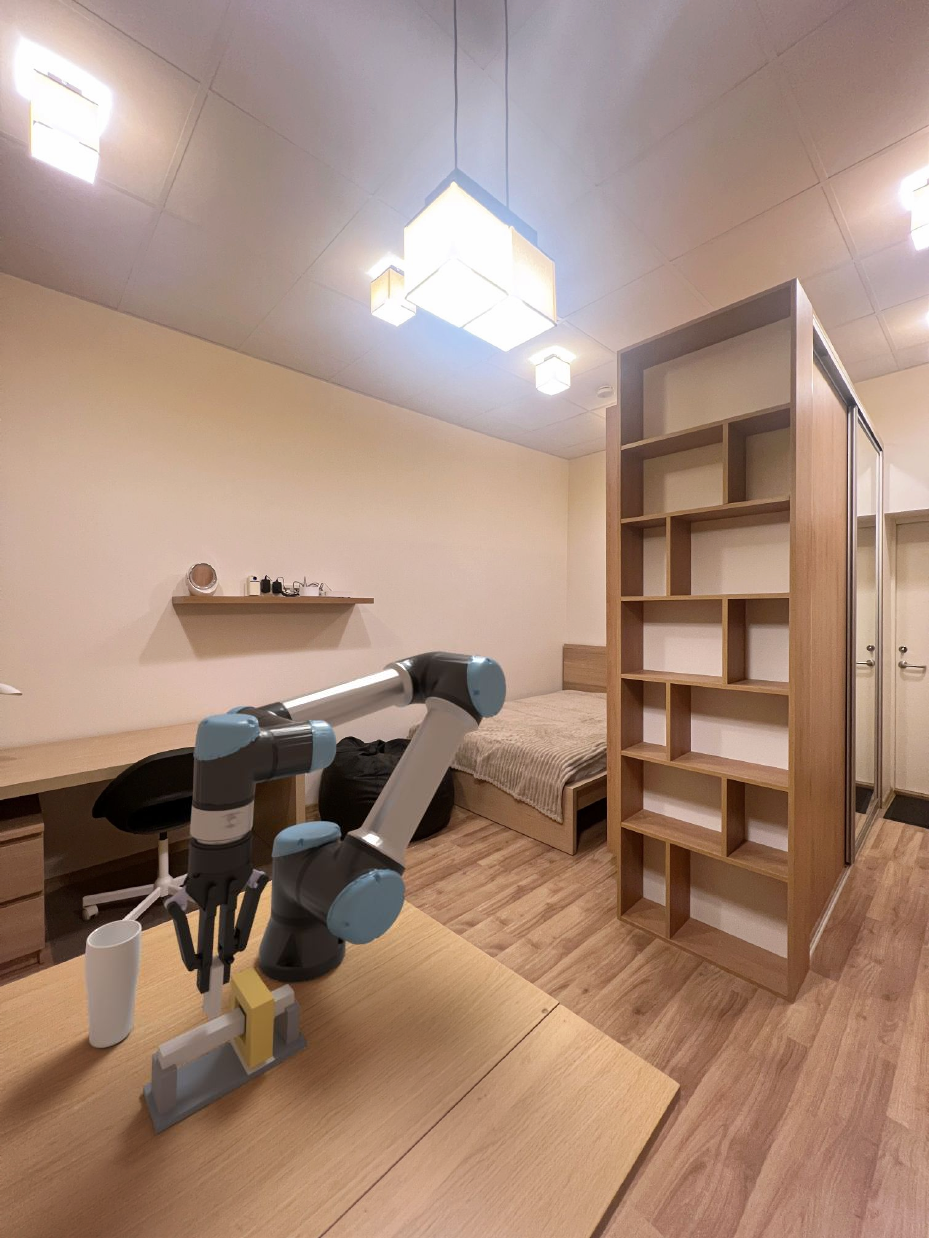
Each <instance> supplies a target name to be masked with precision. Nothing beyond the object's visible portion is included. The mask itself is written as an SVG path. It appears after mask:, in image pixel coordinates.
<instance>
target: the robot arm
mask: <svg viewBox="0 0 929 1238" xmlns="http://www.w3.org/2000/svg"><path fill="white" fill-rule="evenodd" d="M506 682H507V681H506V677H505V673H504V670H503V669H502V666H501V665H500V664H499V663H498V662H497V660H495V659H494V658H492V657H487V656H486V657H485V656H481V655H480V654H473V655H471V654H462V653H454V652H446V651H440V650H439V651H430V652H424V653H420V654H416V655H412V656H410V657H406V658H403V659H402V658H401V659H399V660H395V661H392V662H389V663H387V664H385V666H383V669H382V670H379V671H376V672H373V673H370V674H366V675H363V676H359V677H356V678H353V679H349V680H346V681H342V682H339V683H336V684H334V685H329V686H326V687H323V688H319V689H316V690H313V691H309V692H306V693H303V694H300V695H296V696H294V697H293V696H292V697H290V698H289V697H288V698H286V699H283V700H280V701H276V702H273V703H268V704H266V705H262V706H258V707H254V706H250V705H249V706H248V705H239V706H236V707H232V708H231V709H230V710H228V711H227V712H226V713H220V714H213V715H210V716H207V717H205V718H204V719H202V720H201V721H200V722H199V724H198V725H197V729H196V734H195V743H194V751H193V759H194V760H193V781H192V782H193V783H192V784H193V785H192V786H193V787H192V788H193V790H192V801H191V802H192V803H191V814H190V826H189V828H190V831H189V834H190V835H191V838H189V839H190V840H189V849H188V864H187V865H188V866H187V867H188V868H187V874H186V876H185V878H184V879H183V883H182V888H180V889H179V890H178V891H176V892H175V894H174V895H173V894H170V895H166V896H165V897H164V898H163V900H162V905H163V906H164V907H165V909H166V911H167V913H168V914H169V915H170V917H171V919H172V922H173V927H174V931H175V936H176V940H177V945H178V949H179V953H180V957H181V960H182V962H183V964H184V966H185V968H186V970H187V971H188V972H190V973H191V972H194V971H196V988H197V990H198V991H199V993H200V995H203V996H202V1009H203V1012H204V1013H205V1016H206V1017H207V1019H208V1021H209V1020H210V1021H211V1020H213V1019H215V1018H217V1017H220V1016H222V1007H223V1004H222V1003H223V986H224V985H226V984H228V983H229V981H231V968H232V967H231V966H232V964H233V963H234V961H235V960H236V959H235V955H236V954H237V953H242V952H244V951H246V948H247V947H248V944H249V943H248V942H249V939H250V935H251V932H252V928H253V925H254V920H255V917H256V913H257V909H258V906H259V903H260V900H261V895H262V893H263V891H264V890H265V888H266V887H267V885H268V883H269V881H270V877H269V876H268V875H267V874H266V873H265V871H263V870H262V869H261V868H259V869H258V868H257V869H254V865H253V864H252V863H251V858H252V848H253V847H252V844H253V833H252V831H251V830H252V827H253V825H254V824H253V823H254V808H255V807H254V806H255V793H256V785H257V783H263V782H268V781H272V780H278V779H283V778H288V777H293V776H298V775H299V776H300V775H304V774H312V773H313V772H317V771H319V770H323V769H326V768H327V767H329V766H330V765H331V764H332V763H333V761H334V760H335V757H336V754H337V753H336V752H337V737H336V734H335V731H334V729H333V728H337V727H338V726H342V725H343V724H347V723H349V722H353V721H354V720H358V719H360V718H363V717H365V716H368V715H371V714H375V713H377V712H379V711H382V710H384V709H387V708H390V707H393V706H394V707H397V708H405V707H406V706H407V707H408V706H409V705H415V704H417V705H418V704H419V705H425V706H426V707H425V708H426V711H427V713H426V715H425V716H424V717H423V719H422V722H421V723H420V725H419V726H418V729H417V730H416V732H415V733H414V735H413V736H412V739H411V741H410V742H409V744H408V745H407V747H406V749H405V751H404V752H403V754H402V755H401V758H400V759H399V761H398V763H397V764H396V766H395V768H394V770H393V771H392V773H391V775H390V776H389V779H388V780H387V782H386V784H385V785H384V786H383V789H382V790H381V792H380V794H379V795H378V798H377V799H376V800H375V802H374V805H373V806H372V808H371V810H370V811H369V813H368V815H367V817H366V818H365V820H364V822H363V823H362V825H361V827H359V828H358V829H354V830H351V831H348V832H347V834H346V835H345V837H344V839H343V840H342V842H341V837H342V833H341V827H340V826H339V825H338V824H337V823H336V822H331V821H321V820H319V821H318V820H317V821H307V822H303V823H298V824H295V825H292V826H288V827H287V828H284V829H283V830H281V831H280V832H279V833H278V834H277V835H276V836H275V838H274V840H273V846H272V852H271V858H272V861H271V862H272V865H271V868H272V870H271V872H272V873H271V890H270V891H271V894H270V897H271V899H270V917H269V919H268V922H267V924H266V927H265V931H264V933H263V935H262V937H261V938H262V939H261V941H260V944H259V948H258V967H259V969H260V971H261V973H262V974H264V976H265V977H267V978H269V979H270V980H273V981H275V982H279V983H286V984H297V983H305V982H309V981H312V980H316V979H318V978H320V977H323V976H325V975H327V974H328V973H330V972H332V970H334V969H335V968H336V967H338V965H340V963H341V962H342V960H343V959H344V957H345V954H346V947H347V945H346V943H349V944H351V945H358V946H359V945H365V944H369V943H371V942H373V941H374V940H375V939H379V938H380V937H382V936H383V935H384V934H386V932H387V931H389V929H390V928H391V927H392V926H393V925H394V923H395V921H396V920H397V919H398V917H399V916H400V914H401V912H402V910H403V907H404V904H405V900H406V897H405V893H406V884H405V882H404V880H403V878H402V876H403V874H404V873H405V870H406V869H407V863H406V859H405V851H406V850H407V848H408V845H409V843H410V841H411V839H412V838H413V836H414V834H415V832H416V830H417V829H418V827H419V824H420V822H421V820H422V819H423V817H424V815H425V813H426V811H427V809H428V807H429V805H430V804H431V802H432V799H433V798H434V796H435V794H436V793H437V790H438V788H439V787H440V785H441V782H442V780H443V778H444V777H445V774H446V773H447V771H448V769H449V767H450V766H451V763H452V761H453V759H454V758H455V756H456V754H457V752H458V750H459V749H460V747H461V745H462V742H463V740H464V738H465V737H466V735H467V734H469V733H472V732H476V731H477V730H478V728H479V727H480V725H481V722H482V721H483V719H488V718H493V717H494V716H497V715H498V714H499V713H500V712H501V710H502V708H503V707H504V704H505V701H506V696H507V684H506ZM246 884H247V885H246ZM245 886H246V888H245V890H244V894H243V896H242V897H243V898H242V901H241V904H240V908H239V911H238V915H237V918H236V910H237V908H238V896H239V895H240V893H241V892H243V889H244V887H245ZM189 897H190V898H191V899H192V900H193V901H194V902H195V903H196V904H197V905H198V911H199V912H198V913H199V914H198V927H197V928H198V929H197V931H198V932H197V945H196V946H197V947H196V951H195V946H194V943H193V938H192V932H191V929H190V924H189V920H188V916H187V915H186V912H185V911H186V910H187V908H188V898H189ZM218 907H219V914H218V915H219V916H218V933H217V935H218V936H217V950H216V951H217V953H218V954H215V955H214V941H215V940H214V939H215V926H216V925H215V923H216V916H217V913H218ZM235 921H236V922H235Z"/></svg>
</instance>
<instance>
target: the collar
mask: <svg viewBox="0 0 929 1238" xmlns="http://www.w3.org/2000/svg"><path fill="white" fill-rule="evenodd" d="M270 992H271V991H270V990H269V989H268V986H267V985H266V984H265V983H264V982H263V980H262V978H261V977H260V976H259V974H258V973H257V971H256V970H255V969H254V967H253V966H251V967H248V968H246V969H244V970H241V971H239V972H237V973H234V974H233V975H232V974H231V975H230V994H229V995H230V998H229V1012H230V1011H232V1010H234V1009H236V1008H238V1007H239V1005H241V1006H242V1008H243V1009H244V1011H245V1013H246V1014H247V1017H246V1034H244V1033H243V1034H241V1035H239V1036H237V1037H235V1038H233V1039H234V1041H235V1043H236V1044H237V1046H238V1048H239V1050H240V1052H241V1053H242V1055H243V1057H244V1059H245V1061H246V1063H247V1064H248V1066H249V1068H252V1067H254V1066H256V1065H258V1064H259V1063H261V1062H263V1061H265V1060H266V1059H268V1058H270V1057H272V1052H273V1024H274V1018H275V1017H274V997H273V995H272V994H271V993H270ZM233 1039H232V1040H233Z"/></svg>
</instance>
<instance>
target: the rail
mask: <svg viewBox="0 0 929 1238" xmlns="http://www.w3.org/2000/svg"><path fill="white" fill-rule="evenodd" d="M289 984H290V983H286V984H284V985H282V986H280V987H279V988H276V989H274V990H272V991H270V993H271V994H272V995H273V997H274V1024H273V1052H272V1057H270V1058H268V1059H266V1060H265V1061H263V1062H261V1063H259V1064H258V1065H256V1066H254V1067H252V1068H249V1066H248V1064H247V1063H246V1061H245V1059H244V1057H243V1055H242V1053H241V1052H240V1050H239V1048H238V1046H237V1044H236V1043H235V1041H234V1039H233V1038H235V1037H237V1036H239V1035H241V1034H243V1033H244V1034H246V1017H247V1014H246V1013H245V1011H244V1009H243V1008H242V1006H241V1005H239V1007H238V1008H236V1009H234V1010H232V1011H230V1010H229V1012H226V1013H224V1014H221V1015H219V1016H216V1017H214V1018H212V1019H210V1021H209V1020H208V1021H207V1022H205V1023H203V1024H201V1025H199V1026H197V1027H195V1028H193V1029H190V1030H188V1031H185V1032H184V1033H182V1034H179V1035H178V1036H176V1037H174V1038H172V1039H169V1040H168V1041H165V1042H163V1043H161V1044H159V1045H158V1046H157V1051H156V1052H154V1053H152V1057H151V1078H150V1079H151V1082H149V1083H147V1084H145V1085H143V1086H142V1087H143V1088H142V1093H143V1096H144V1099H145V1103H146V1106H147V1109H148V1112H149V1115H150V1119H151V1121H152V1124H153V1128H154V1131H155V1134H156V1135H158V1134H159V1133H161V1132H163V1131H165V1130H167V1129H168V1128H169V1127H171V1126H174V1125H175V1124H176V1123H179V1122H180V1121H182V1120H184V1119H185V1118H187V1117H188V1116H190V1115H192V1114H194V1113H195V1112H197V1111H199V1110H200V1109H203V1108H205V1107H206V1106H207V1105H209V1104H211V1103H214V1101H216V1100H219V1098H222V1097H223V1096H225V1095H227V1094H228V1093H230V1092H232V1091H234V1090H235V1089H237V1088H239V1087H240V1086H242V1085H244V1084H245V1083H247V1082H249V1081H251V1080H252V1079H254V1078H255V1077H258V1076H259V1075H261V1074H263V1073H264V1072H266V1071H268V1070H269V1069H271V1068H273V1067H274V1066H276V1065H278V1064H280V1063H282V1062H283V1061H285V1060H287V1059H289V1058H291V1057H292V1056H295V1054H298V1053H299V1052H300V1051H302V1050H304V1049H306V1048H307V1045H308V1041H307V1040H306V1039H305V1037H304V1035H303V1034H302V1032H301V1031H300V1022H301V1021H300V1017H301V1016H300V1015H301V1005H300V1004H299V1003H298V1001H297V1000H296V999H295V991H294V989H293V988H292V987H291V986H290V985H289Z"/></svg>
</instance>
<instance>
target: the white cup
mask: <svg viewBox="0 0 929 1238" xmlns="http://www.w3.org/2000/svg"><path fill="white" fill-rule="evenodd" d="M142 933H143V932H142V924H141V923H140V922H139V921H137V920H133V919H122V920H121V919H120V920H116V921H112V922H109V923H106V924H104V925H101V926H99V927H98V928H96V929H94V930H93V931H92V932H90V934H89V935H88V936H87V938H86V941H85V944H86V946H85V953H84V975H85V977H84V978H85V988H86V989H85V990H86V992H85V993H86V1002H87V1003H86V1005H87V1016H88V1042H89V1044H90V1045H91V1046H92V1047H93V1048H97V1049H104V1048H108V1047H113V1046H115V1045H117V1044H119V1043H120V1042H121V1041H123V1040H125V1038H126V1037H127V1036H129V1034H130V1032H131V1031H132V1029H133V1027H134V1015H135V1014H134V1013H135V1006H136V998H137V997H136V996H137V990H138V982H139V981H138V980H139V976H140V975H139V973H140V972H139V971H140V967H141V966H140V965H141V958H142V946H143V945H142V943H143V942H142V941H143V940H142V939H143V936H142V935H143V934H142Z"/></svg>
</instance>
